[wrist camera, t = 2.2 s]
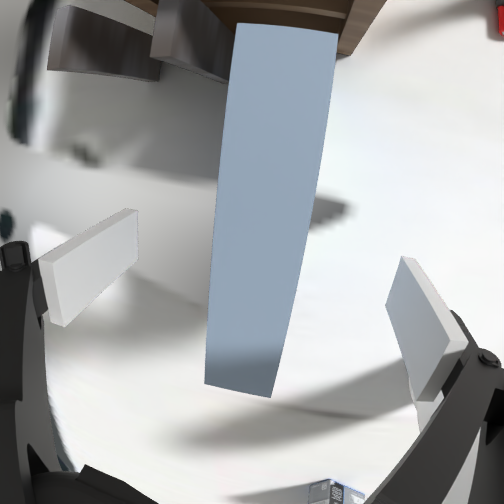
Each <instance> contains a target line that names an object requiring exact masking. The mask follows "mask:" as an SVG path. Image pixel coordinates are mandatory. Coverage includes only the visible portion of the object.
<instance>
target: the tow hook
mask: <svg viewBox="0 0 504 504" xmlns="http://www.w3.org/2000/svg"><path fill="white" fill-rule="evenodd" d="M496 5H497V9H498V17H499V33H500V35H502V36H504V0H496Z"/></svg>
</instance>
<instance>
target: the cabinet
mask: <svg viewBox="0 0 504 504" xmlns="http://www.w3.org/2000/svg"><path fill="white" fill-rule="evenodd" d="M124 1H126V2H128V3H130V4H132V5H134V6H136V7H138V8H140V9H142V10H143V11H145V12H147V13H149V14H151V15H153V16H154V17H156V21H155V26H154V32H153V36H151V35H149V34H146V33H144V32H142V31H139V30H137V29H135V28H132V27H130V26H127V25H125V24H122V23H120V22H117V21H115V20H112V19H109V18H107V17H104V16H101V15H98V14H96V13H93V12H90V11H87V10H84V9H81V8H78V7H75V6H72V5H68V6H65V7H62V8H59V9H57V12H56V17H55V21H54V27H53V32H52V38H51V44H50V50H49V57H48V65H47V70H52V71H67V72H79V73H89V74H98V75H107V76H114V77H122V78H128V79H135V80H141V81H147V82H158V81H159V72H160V64H161V61H164V62H167V63H169V64H172V65H175V66H178V67H181V68H184V69H186V70H189V71H192V72H195V73H197V74H200V75H203V76H205V77H208V78H210V79H213V80H215V81H218V82H220V83H226V84H229V79H230V71H231V64H232V56H233V49H234V42H235V35H236V28H237V23H249V24H264V25H276V26H286V27H295V28H303V29H310V30H317V31H323V32H329V33H334V34H339V35H338V43H337V52H336V53H340V54H345V55H350V56H351V54H352V53H353V51H354V50H355V48H356V47H357V45H358V44H359V42H360V40H361V39H362V37H363V36H364V34H365V33H366V31H367V30H368V28H369V27H370V25H371V23H372V22H373V20H374V19H375V17H376V16H377V14H378V13H379V11H380V10H381V8H382V7H383V5H384V4H385V2H386V1H387V0H124Z"/></svg>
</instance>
